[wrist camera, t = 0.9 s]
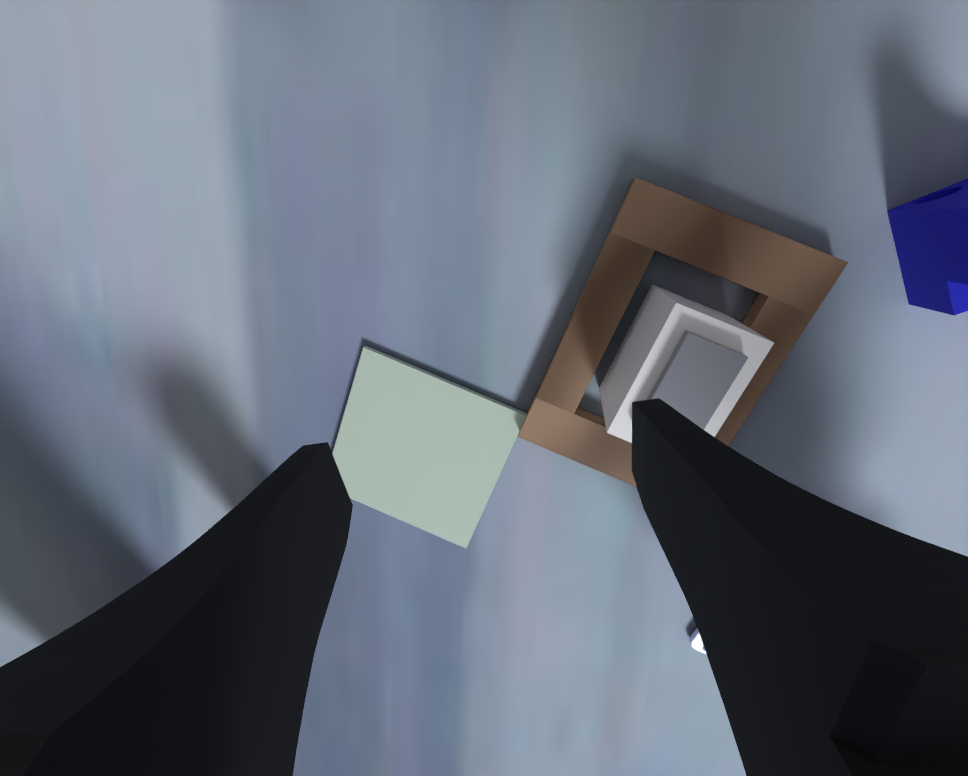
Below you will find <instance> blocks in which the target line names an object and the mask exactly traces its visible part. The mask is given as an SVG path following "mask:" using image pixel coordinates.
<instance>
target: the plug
mask: <svg viewBox="0 0 968 776" xmlns="http://www.w3.org/2000/svg"><path fill="white" fill-rule="evenodd" d="M773 344H774V342H772V341H771V340H769V339H767V338H766V337H764V336H762V335H760V334H759V333H757V332H755V331H754V330H752V329H750V328H749V327H747V326H745V325H743V324H742V323H740V322H738V321H737V320H735V319H733V318H732V317H730V316H728V315H726V314H724V313H721V312H719V311H717V310H714V309H712V308H709V307H707V306H704V305H702V304H699V303H697V302H694V301H692V300H690V299H687V298H685V297H682V296H680V295H677V294H675V293H672V292H670V291H668V290H665V289H663V288H660V287H658V286H655V285H653V284H651V286H650V288H649V290H648V292H647V294H646V296H645V298H644V300H643V302H642V304H641V306H640V308H639V310H638V312H637V314H636V316H635V318H634V320H633V322H632V324H631V326H630V328H629V330H628V332H627V334H626V336H625V338H624V340H623V342H622V344H621V346H620V348H619V350H618V351H617V353H616V355H615V357H614V359H613V361H612V363H611V365H610V367H609V369H608V371H607V373H606V375H605V377H604V379H603V381H602V383H601V385H600V387H599V391H600V396H601V402H602V408H603V414H604V419H605V425H606V431H607V433H609V434H611V435H614V436H616V437H618V438H621V439H623V440H625V441H628V442H630V443H632V402H634V401H642V400H649V399H657V398H660V399H661V400H663V401H664V402H666V403H667V404H668V405H670V406H671V407H673V408H674V409H675V410H677V411H678V412H679V413H681V414H682V415H684V416H685V417H686V418H688V419H689V420H691V421H692V422H693V423H695V424H696V425H698V426H699V427H700V428H702V429H703V430H705V431H706V432H708V433H709V434H710V435H712V436H713V437H715V436H716V434H717V433H718V431H719V429H720V428H721V426H722V425H723V423H724V422H725V420H726V418H727V417H728V415H729V414H730V412H731V410H732V409H733V407H734V406H735V404H736V403H737V401H738V399H739V398H740V396H741V395H742V393H743V392H744V390H745V388H746V387H747V385H748V384H749V382H750V381H751V379H752V377H753V376H754V374H755V373H756V371H757V369H758V368H759V366H760V365H761V363H762V362H763V360H764V358H765V357H766V355H767V354H768V352H769V351H770V349H771V347H772V346H773Z"/></svg>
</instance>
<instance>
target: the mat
mask: <svg viewBox="0 0 968 776" xmlns="http://www.w3.org/2000/svg"><path fill="white" fill-rule="evenodd" d="M526 415H527V413H525V412H523V411H520V410H518V409H515V408H513V407H511V406H508V405H506V404H504V403H501V402H499V401H496V400H494V399H492V398H489V397H487V396H485V395H482V394H480V393H477V392H475V391H473V390H470V389H468V388H466V387H463V386H461V385H458V384H456V383H454V382H451V381H449V380H447V379H444V378H442V377H439V376H437V375H435V374H432V373H430V372H428V371H425V370H423V369H421V368H418V367H416V366H413V365H411V364H409V363H406V362H404V361H402V360H399V359H397V358H394V357H392V356H390V355H387V354H385V353H383V352H380V351H378V350H375V349H373V348H371V347H368V346H365V347H363V350H362V353H361V357H360V360H359V364H358V367H357V371H356V374H355V378H354V381H353V384H352V388H351V391H350V395H349V398H348V402H347V405H346V409H345V412H344V416H343V419H342V422H341V426H340V429H339V433H338V436H337V440H336V443H335V447H334V450H333V453H332V454H333V457H334V459H335V462H336V464H337V467H338V469H339V472H340V475H341V477H342V480H343V482H344V485H345V487H346V490H347V492H348V495H349V497H350V498H351V499H353V500H355V501H358V502H360V503H362V504H365V505H367V506H369V507H372V508H374V509H376V510H378V511H381V512H383V513H385V514H388V515H390V516H392V517H395V518H397V519H399V520H402V521H404V522H406V523H408V524H411V525H413V526H415V527H418V528H420V529H422V530H425V531H427V532H429V533H432V534H434V535H436V536H438V537H441V538H443V539H445V540H448V541H450V542H452V543H455V544H457V545H459V546H462V547H464V548H467V546H468V543H469V541H470V539H471V537H472V534H473V532H474V530H475V528H476V526H477V523H478V521H479V519H480V517H481V515H482V512H483V510H484V508H485V506H486V504H487V501H488V499H489V497H490V495H491V493H492V490H493V488H494V486H495V484H496V482H497V479H498V477H499V475H500V473H501V471H502V468H503V466H504V464H505V462H506V460H507V457H508V455H509V453H510V451H511V449H512V446H513V444H514V442H515V440H516V438H517V435H518V433H519V431H520V429H521V427H522V424H523V422H524V420H525V418H526Z"/></svg>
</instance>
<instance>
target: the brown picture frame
mask: <svg viewBox="0 0 968 776" xmlns="http://www.w3.org/2000/svg"><path fill="white" fill-rule="evenodd" d="M655 251H658V252H660V253H663V254H665V255H668V256H670V257H672V258H675V259H677V260H680V261H682V262H685V263H687V264H690V265H692V266H695V267H697V268H700V269H702V270H705V271H707V272H709V273H712V274H714V275H717V276H719V277H722V278H724V279H727V280H729V281H732V282H734V283H737V284H739V285H742V286H744V287H746V288H749V289H751V290H754V291H756V292H759V294H758V296H757V297H756V299H755V301H754V302H753V304H752V306H751V308H750V309H749V311H748V313H747V314H746V316H745V318H744V319H743V321H742V324H743V325H745V326H747V327H749V328H750V329H752V330H754V331H755V332H757V333H759V334H760V335H762V336H764V337H766V338H767V339H769V340H771V341H772V342H774V344H773V346H772V347H771V349H770V351H769V352H768V354H767V355H766V357H765V358H764V360H763V362H762V363H761V365H760V366H759V368H758V369H757V371H756V373H755V374H754V376H753V377H752V379H751V381H750V382H749V384H748V385H747V387H746V388H745V390H744V392H743V393H742V395H741V396H740V398H739V399H738V401H737V403H736V404H735V406H734V407H733V409H732V410H731V412H730V414H729V415H728V417H727V418H726V420H725V422H724V423H723V425H722V426H721V428H720V429H719V431H718V433H717V434H716V436H715V438H716V439H718V440H719V441H721V442H722V443H724V444H725V445H727V446H729V444H730V443H731V441H732V439H733V438H734V436H735V435H736V433H737V432H738V430H739V429H740V427H741V426H742V424H743V423H744V421H745V420H746V418H747V417H748V415H749V413H750V412H751V410H752V409H753V407H754V406H755V404H756V403H757V401H758V400H759V398H760V397H761V395H762V394H763V392H764V390H765V389H766V387H767V386H768V384H769V383H770V381H771V380H772V378H773V377H774V375H775V374H776V372H777V371H778V369H779V367H780V366H781V364H782V363H783V361H784V360H785V358H786V357H787V355H788V354H789V352H790V351H791V349H792V348H793V346H794V345H795V343H796V341H797V340H798V338H799V337H800V335H801V334H802V332H803V331H804V329H805V328H806V326H807V325H808V323H809V322H810V320H811V318H812V317H813V315H814V314H815V312H816V311H817V309H818V308H819V306H820V305H821V303H822V302H823V300H824V299H825V297H826V295H827V294H828V292H829V291H830V289H831V288H832V286H833V285H834V283H835V282H836V280H837V279H838V277H839V276H840V274H841V273H842V271H843V269H844V268H845V266H846V265H847V263H848V262H846V261H844V260H841V259H839V258H836V257H834V256H831V255H829V254H826V253H824V252H821V251H819V250H816V249H814V248H811V247H809V246H806V245H804V244H801V243H799V242H796V241H794V240H791V239H789V238H786V237H784V236H781V235H779V234H776V233H774V232H771V231H769V230H766V229H764V228H761V227H759V226H756V225H754V224H751V223H749V222H746V221H744V220H741V219H739V218H736V217H734V216H731V215H729V214H726V213H724V212H721V211H719V210H716V209H714V208H711V207H709V206H706V205H704V204H701V203H699V202H696V201H694V200H691V199H689V198H686V197H684V196H681V195H679V194H676V193H674V192H671V191H669V190H666V189H664V188H661V187H659V186H656V185H654V184H651V183H649V182H646V181H644V180H641V179H639V178H635V179H633V180H632V183H631V185H630V187H629V189H628V192H627V194H626V196H625V198H624V200H623V203H622V205H621V207H620V209H619V211H618V214H617V216H616V218H615V220H614V222H613V225H612V227H611V229H610V231H609V233H608V236H607V238H606V240H605V242H604V244H603V247H602V249H601V251H600V253H599V255H598V258H597V260H596V262H595V264H594V266H593V269H592V271H591V273H590V275H589V278H588V280H587V282H586V284H585V286H584V289H583V291H582V293H581V295H580V297H579V300H578V302H577V304H576V306H575V308H574V311H573V313H572V315H571V317H570V319H569V322H568V324H567V326H566V328H565V330H564V333H563V335H562V337H561V339H560V341H559V344H558V346H557V348H556V350H555V352H554V355H553V357H552V359H551V361H550V364H549V366H548V368H547V370H546V372H545V375H544V377H543V379H542V381H541V383H540V386H539V388H538V390H537V392H536V394H535V397H534V399H533V401H532V403H531V405H530V408H529V410H528V412H527V415H526V418H525V420H524V422H523V424H522V427H521V429H520V431H519V435H518V437H520V438H522V439H525V440H527V441H529V442H532V443H534V444H536V445H539V446H541V447H544V448H546V449H548V450H551V451H553V452H555V453H558V454H560V455H562V456H565V457H567V458H570V459H572V460H574V461H577V462H579V463H581V464H584V465H586V466H588V467H591V468H593V469H596V470H598V471H600V472H603V473H605V474H607V475H610V476H612V477H614V478H617V479H619V480H622V481H624V482H626V483H629V484H631V485H633V486H636V483H635V480H634V476H633V473H632V443H630V442H628V441H625V440H623V439H621V438H618V437H616V436H614V435H611V434H609V433H607V431H606V425H605V419H604V418H601V417H599V416H597V415H594V414H592V413H589V412H587V411H585V410H582V409H580V408H578V405H579V403H580V401H581V399H582V397H583V395H584V393H585V391H586V389H587V387H588V385H589V383H590V381H591V379H592V377H593V375H594V373H595V371H596V369H597V367H598V365H599V363H600V361H601V359H602V357H603V355H604V353H605V351H606V349H607V346H608V344H609V342H610V340H611V338H612V336H613V334H614V332H615V330H616V328H617V326H618V324H619V322H620V320H621V318H622V316H623V314H624V312H625V310H626V308H627V306H628V304H629V302H630V300H631V298H632V296H633V294H634V292H635V290H636V288H637V286H638V284H639V282H640V280H641V278H642V276H643V274H644V272H645V270H646V268H647V266H648V264H649V262H650V260H651V258H652V256H653V254H654V252H655ZM636 487H637V486H636Z"/></svg>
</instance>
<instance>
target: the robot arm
mask: <svg viewBox="0 0 968 776" xmlns="http://www.w3.org/2000/svg"><path fill="white" fill-rule="evenodd" d="M632 473H633V476H634V480H635V483H636V486H637V489H638V492H639V495H640V498H641V501H642V504H643V507H644V510H645V512H646V514H647V516H648V519H649V521H650V523H651V525H652V527H653V529H654V532H655V534H656V536H657V538H658V540H659V542H660V544H661V547H662V549H663V551H664V553H665V555H666V557H667V559H668V561H669V563H670V566H671V568H672V570H673V572H674V574H675V576H676V578H677V580H678V583H679V585H680V587H681V589H682V591H683V593H684V595H685V598H686V600H687V602H688V605H689V607H690V610H691V612H692V614H693V617H694V620H695V623H696V625H697V629H696V630H695V631H694V633H693V634H692V635H691V637H690V639H689V640H690V645H691V647H692V648H694V649H695V650H697V651H700V652H702V653H704V654H707V656H708V659H709V662H710V665H711V668H712V671H713V674H714V677H715V680H716V683H717V686H718V689H719V692H720V695H721V697H722V700H723V703H724V706H725V709H726V712H727V715H728V719H729V722H730V725H731V728H732V731H733V734H734V737H735V740H736V744H737V747H738V750H739V753H740V756H741V759H742V762H743V765H744V769H745V772H746V775H747V776H968V557H967V556H964V555H961V554H959V553H956V552H953V551H950V550H947V549H944V548H942V547H939V546H936V545H933V544H930V543H927V542H925V541H922V540H919V539H916V538H914V537H911V536H909V535H906V534H903V533H901V532H898V531H896V530H893V529H890V528H888V527H885V526H883V525H881V524H878V523H876V522H873V521H871V520H869V519H866V518H864V517H862V516H859V515H857V514H855V513H852V512H850V511H848V510H845V509H843V508H841V507H839V506H836V505H834V504H832V503H830V502H828V501H826V500H823V499H821V498H819V497H817V496H815V495H813V494H811V493H809V492H807V491H805V490H803V489H801V488H799V487H797V486H796V485H794V484H792V483H790V482H788V481H786V480H784V479H782V478H780V477H778V476H777V475H775V474H773V473H771V472H770V471H768V470H766V469H764V468H763V467H761V466H759V465H758V464H756V463H754V462H753V461H751V460H749V459H748V458H746V457H744V456H743V455H741V454H739V453H738V452H736V451H735V450H733V449H732V448H730V447H728V446H727V445H725V444H724V443H722V442H721V441H719V440H718V439H716V438H715V437H713V436H712V435H710V434H709V433H708V432H706V431H705V430H703V429H702V428H700V427H699V426H698V425H696V424H695V423H693V422H692V421H691V420H689V419H688V418H686V417H685V416H684V415H682V414H681V413H679V412H678V411H677V410H675V409H674V408H673V407H671V406H670V405H668V404H667V403H666V402H664V401H663V400H661V399H660V398H657V399H649V400H642V401H634V402H632ZM352 506H353V505H352V502H351V500H350V497H349V495H348V492H347V490H346V487H345V485H344V482H343V480H342V477H341V475H340V472H339V469H338V467H337V464H336V462H335V459H334V457H333V454H332V452H331V449H330V447H329V444H328V442H327V443H319V444H312V445H304V446H302V447H301V448H300V449H298V450H297V451H296V452H295V453H294V454H292V455H291V456H290V457H289V458H288V459H287V460H286V461H285V462H284V463H282V464H281V465H280V466H279V467H278V468H277V469H276V470H275V471H274V472H273V473H272V474H271V475H270V476H268V477H267V478H266V479H265V480H264V481H263V482H262V483H261V484H260V485H259V486H258V487H257V488H256V489H254V490H253V491H252V492H251V493H250V494H249V495H248V496H247V497H246V498H245V499H244V500H243V501H241V502H240V503H239V504H238V505H237V506H236V507H235V508H234V509H232V510H231V511H230V512H229V513H228V514H227V515H225V516H224V517H223V518H222V519H221V520H220V521H218V522H217V523H216V524H215V525H214V526H213V527H211V528H210V529H209V530H208V531H207V532H206V533H204V534H203V535H202V536H201V537H200V538H199V539H197V540H196V541H195V542H194V543H192V544H191V545H190V546H189V547H187V548H186V549H185V550H184V551H182V552H181V553H180V554H178V555H177V556H176V557H174V558H173V559H172V560H170V561H169V562H168V563H166V564H165V565H164V566H162V567H161V568H160V569H158V570H157V571H155V572H154V573H153V574H151V575H150V576H149V577H147V578H146V579H144V580H143V581H141V582H140V583H138V584H137V585H135V586H134V587H132V588H131V589H129V590H128V591H126V592H125V593H123V594H122V595H120V596H119V597H117V598H116V599H114V600H113V601H111V602H110V603H108V604H107V605H105V606H104V607H102V608H101V609H99V610H98V611H96V612H95V613H93V614H91V615H90V616H88V617H87V618H85V619H83V620H82V621H80V622H78V623H77V624H75V625H73V626H72V627H70V628H68V629H67V630H65V631H63V632H62V633H60V634H58V635H57V636H55V637H53V638H52V639H50V640H48V641H46V642H45V643H43V644H41V645H39V646H38V647H36V648H34V649H32V650H31V651H29V652H27V653H25V654H24V655H22V656H20V657H18V658H16V659H14V660H13V661H11V662H9V663H7V664H5V665H3V666H2V667H0V776H293V769H294V762H295V755H296V748H297V743H298V737H299V731H300V725H301V720H302V714H303V708H304V702H305V697H306V692H307V687H308V682H309V677H310V672H311V667H312V662H313V657H314V652H315V649H316V645H317V641H318V637H319V633H320V630H321V627H322V623H323V620H324V617H325V614H326V610H327V607H328V604H329V601H330V597H331V594H332V591H333V588H334V584H335V581H336V578H337V575H338V571H339V568H340V565H341V561H342V558H343V554H344V551H345V547H346V544H347V538H348V533H349V527H350V520H351V513H352Z"/></svg>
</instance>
